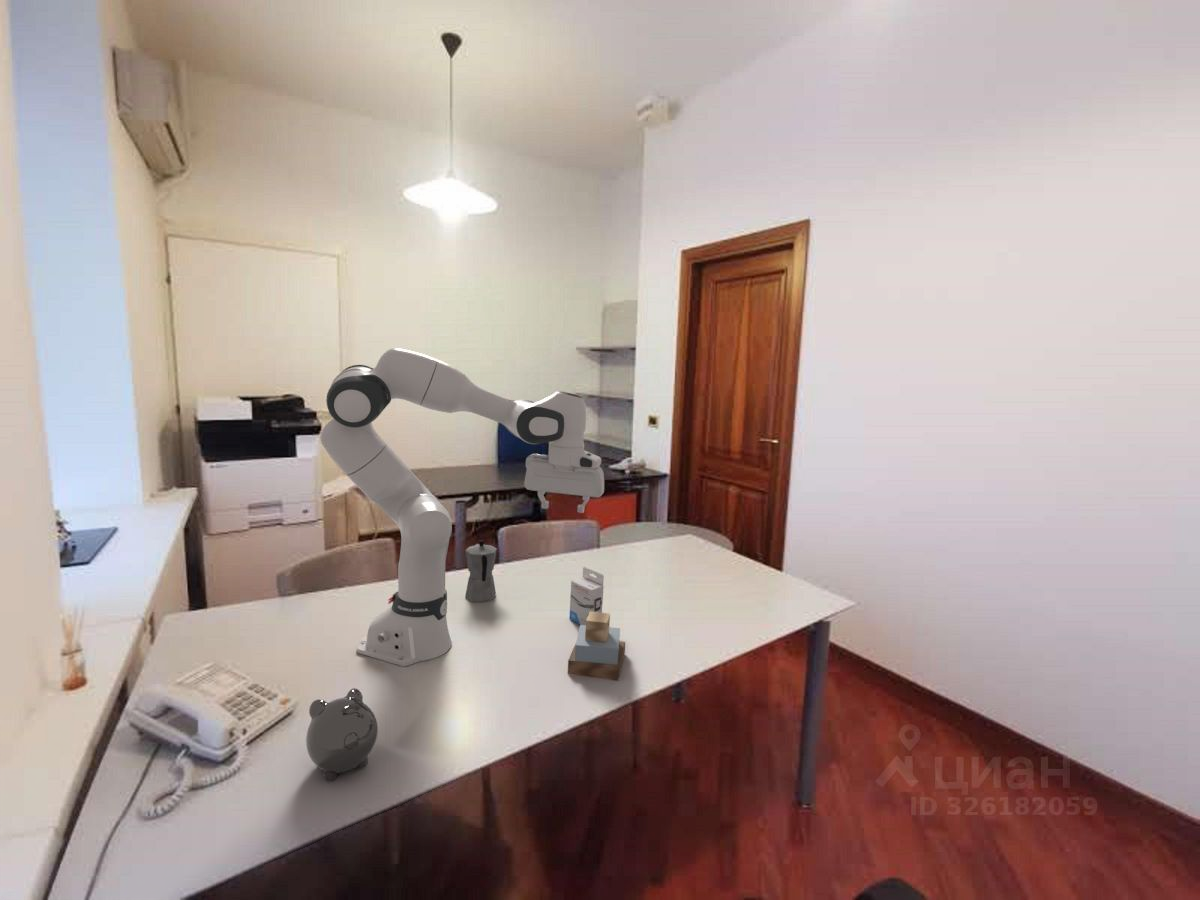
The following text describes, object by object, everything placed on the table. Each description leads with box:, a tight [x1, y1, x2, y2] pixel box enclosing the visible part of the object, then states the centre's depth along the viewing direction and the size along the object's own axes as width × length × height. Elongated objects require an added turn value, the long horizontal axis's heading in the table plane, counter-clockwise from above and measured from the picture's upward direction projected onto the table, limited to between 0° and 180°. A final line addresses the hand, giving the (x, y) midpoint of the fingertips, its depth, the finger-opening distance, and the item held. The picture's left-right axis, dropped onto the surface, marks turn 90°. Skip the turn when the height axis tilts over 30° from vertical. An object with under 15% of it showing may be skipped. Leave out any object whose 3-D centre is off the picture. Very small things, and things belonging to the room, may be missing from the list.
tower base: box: [567, 640, 626, 682], centre depth 132 cm, size 12×12×4 cm
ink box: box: [569, 566, 605, 625], centre depth 152 cm, size 8×5×15 cm, turn 47°
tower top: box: [574, 624, 621, 665], centre depth 131 cm, size 10×10×4 cm
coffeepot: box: [464, 539, 498, 603], centre depth 165 cm, size 15×9×18 cm, turn 19°
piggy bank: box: [305, 687, 379, 782], centre depth 95 cm, size 11×15×12 cm
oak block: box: [585, 611, 611, 643], centre depth 130 cm, size 5×5×5 cm
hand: (562, 510), depth 138 cm, fingers open, 8 cm apart
